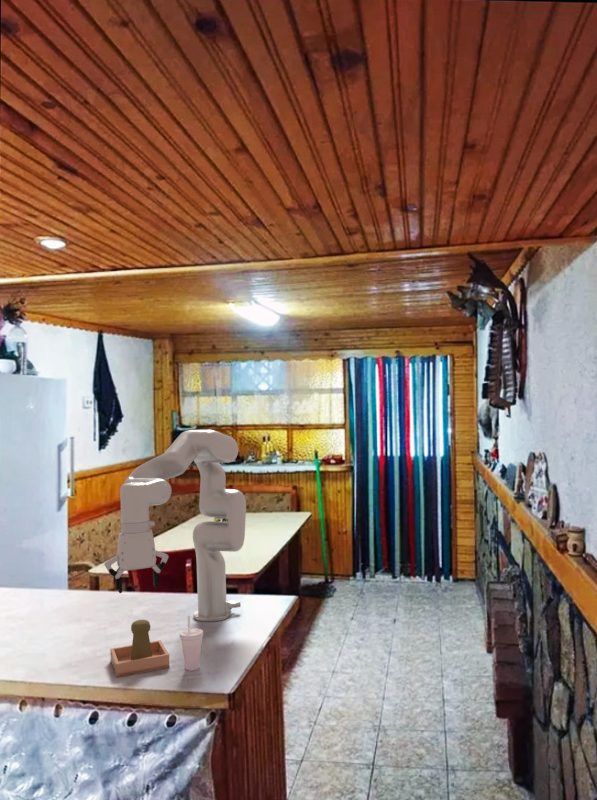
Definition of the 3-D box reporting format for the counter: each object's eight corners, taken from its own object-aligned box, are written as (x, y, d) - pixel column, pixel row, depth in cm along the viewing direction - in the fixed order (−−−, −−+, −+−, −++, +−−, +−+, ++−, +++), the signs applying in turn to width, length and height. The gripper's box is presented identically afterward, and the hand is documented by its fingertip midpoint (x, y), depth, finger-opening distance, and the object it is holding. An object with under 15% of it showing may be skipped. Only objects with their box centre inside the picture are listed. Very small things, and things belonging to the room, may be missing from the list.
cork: (147, 665, 176) (146, 625, 176) (126, 664, 177) (125, 624, 177) (156, 656, 182) (155, 617, 182) (136, 655, 183) (134, 617, 183)
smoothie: (181, 663, 179) (180, 612, 179) (205, 662, 180) (203, 611, 180) (179, 673, 173) (177, 620, 173) (203, 671, 173) (202, 619, 173)
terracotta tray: (160, 652, 188) (160, 640, 188) (169, 667, 177) (169, 654, 177) (110, 661, 182) (110, 648, 182) (116, 677, 171) (116, 664, 171)
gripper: (164, 521, 186) (166, 581, 187) (101, 528, 180) (104, 590, 180) (169, 526, 179) (172, 588, 180) (104, 533, 173) (107, 597, 173)
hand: (138, 589), depth 180 cm, fingers open, 9 cm apart
